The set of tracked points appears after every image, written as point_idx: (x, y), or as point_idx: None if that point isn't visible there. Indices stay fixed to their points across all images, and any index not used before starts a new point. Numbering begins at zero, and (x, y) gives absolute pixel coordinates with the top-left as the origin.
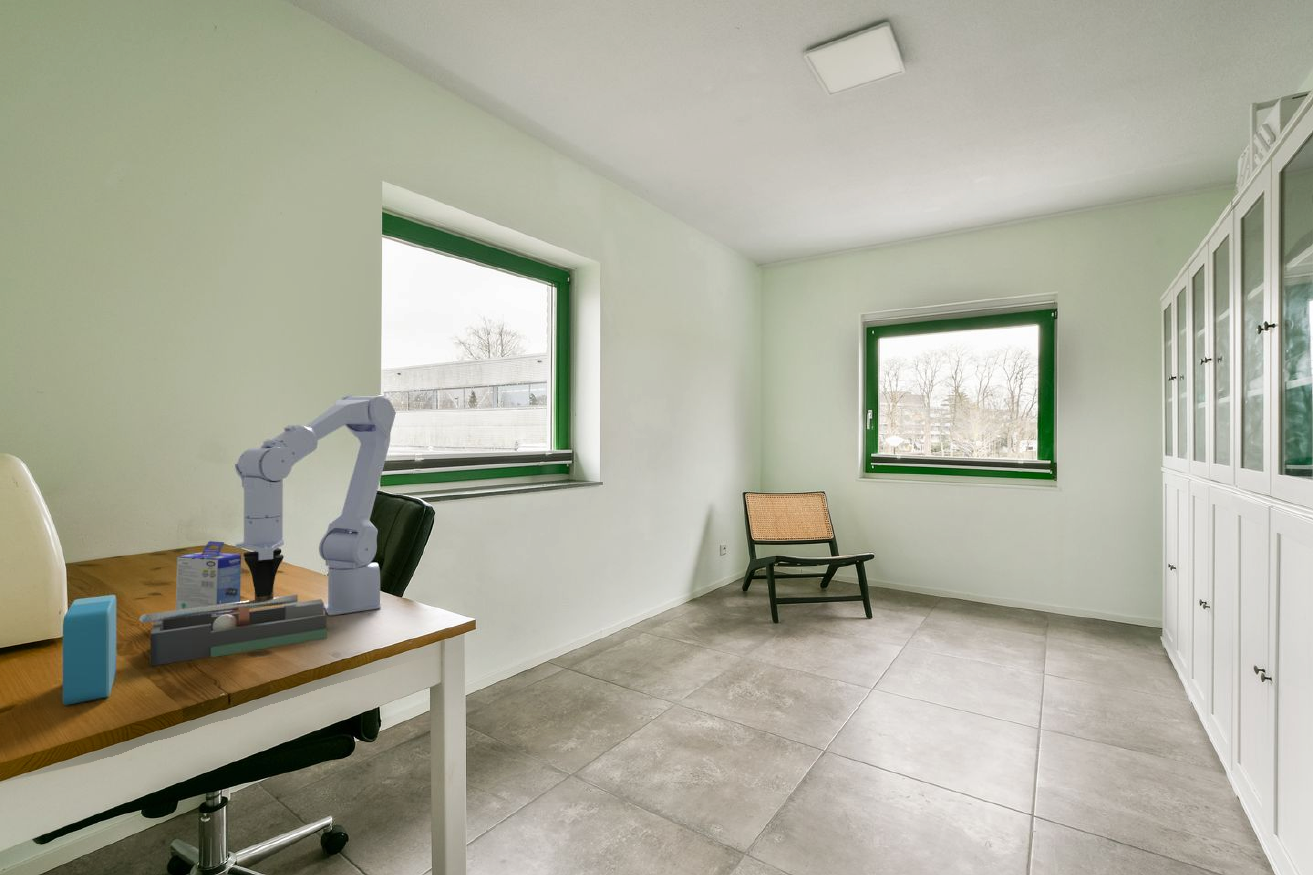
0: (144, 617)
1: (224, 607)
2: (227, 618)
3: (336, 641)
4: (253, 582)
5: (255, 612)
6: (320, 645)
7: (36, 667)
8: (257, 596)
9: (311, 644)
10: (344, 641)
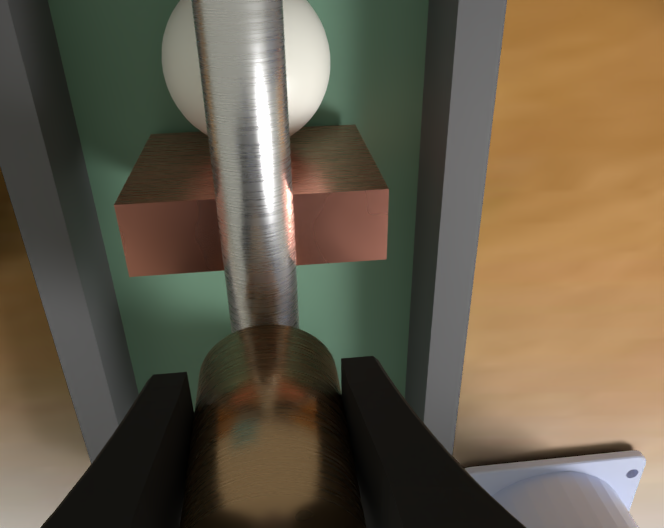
0: None
1: (207, 93)
2: (192, 94)
3: (49, 487)
4: (81, 477)
5: (435, 244)
6: (12, 440)
7: None
8: (149, 381)
9: (44, 411)
10: (36, 509)
